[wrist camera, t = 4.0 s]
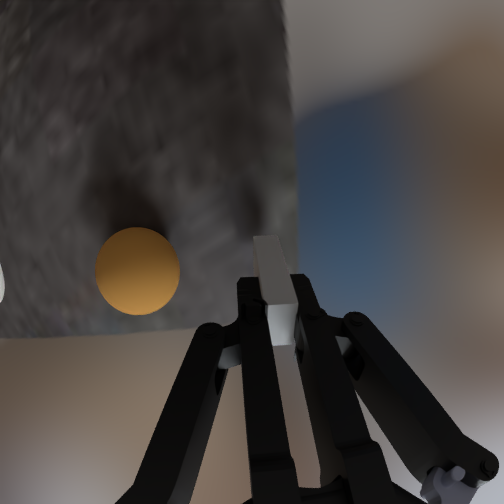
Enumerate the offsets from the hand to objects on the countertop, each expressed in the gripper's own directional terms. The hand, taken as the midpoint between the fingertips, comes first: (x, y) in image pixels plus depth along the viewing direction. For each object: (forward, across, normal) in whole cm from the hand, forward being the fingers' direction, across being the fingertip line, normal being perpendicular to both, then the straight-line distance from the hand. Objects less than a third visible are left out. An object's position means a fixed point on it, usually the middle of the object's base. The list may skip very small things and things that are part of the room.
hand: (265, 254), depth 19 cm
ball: (-1, -8, 0) cm, 8 cm away
